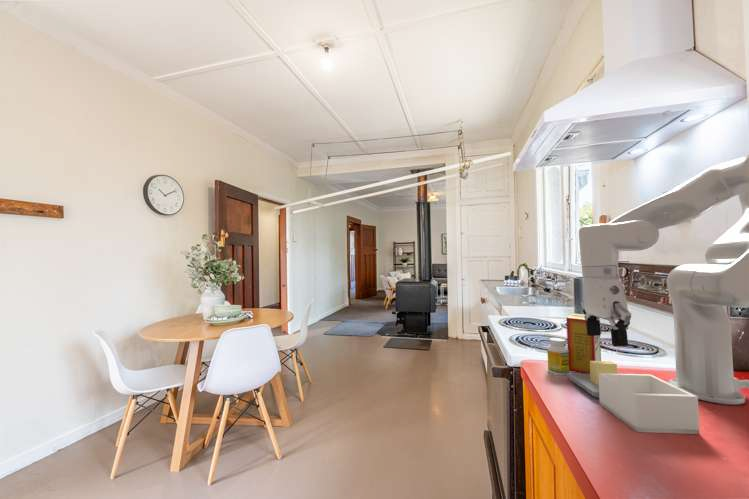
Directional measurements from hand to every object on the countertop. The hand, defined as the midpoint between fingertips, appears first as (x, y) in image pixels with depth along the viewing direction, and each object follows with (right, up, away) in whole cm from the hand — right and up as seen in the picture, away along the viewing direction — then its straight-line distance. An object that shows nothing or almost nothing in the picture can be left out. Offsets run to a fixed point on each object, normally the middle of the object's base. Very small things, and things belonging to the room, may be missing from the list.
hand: (606, 340), depth 76 cm
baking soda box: (+5, -13, +14) cm, 20 cm away
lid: (-1, -12, 0) cm, 12 cm away
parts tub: (-2, -12, -13) cm, 18 cm away
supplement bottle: (-5, -13, +12) cm, 19 cm away
